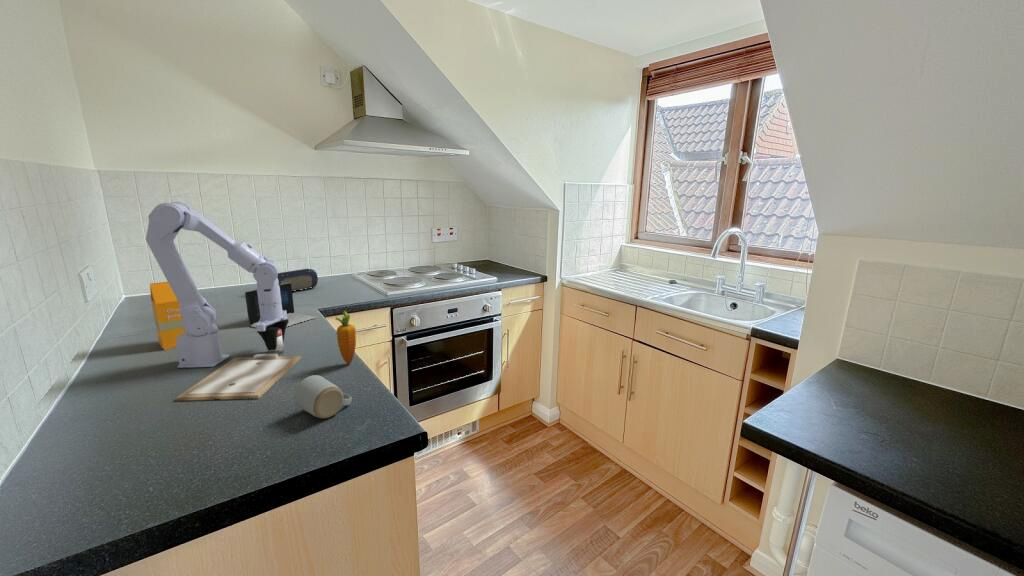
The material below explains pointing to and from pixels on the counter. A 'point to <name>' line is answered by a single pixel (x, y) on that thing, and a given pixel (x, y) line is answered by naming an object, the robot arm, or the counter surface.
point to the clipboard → (241, 378)
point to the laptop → (287, 305)
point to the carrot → (346, 338)
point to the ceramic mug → (320, 397)
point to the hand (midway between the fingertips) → (275, 346)
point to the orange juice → (166, 314)
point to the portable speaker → (299, 278)
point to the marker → (278, 344)
